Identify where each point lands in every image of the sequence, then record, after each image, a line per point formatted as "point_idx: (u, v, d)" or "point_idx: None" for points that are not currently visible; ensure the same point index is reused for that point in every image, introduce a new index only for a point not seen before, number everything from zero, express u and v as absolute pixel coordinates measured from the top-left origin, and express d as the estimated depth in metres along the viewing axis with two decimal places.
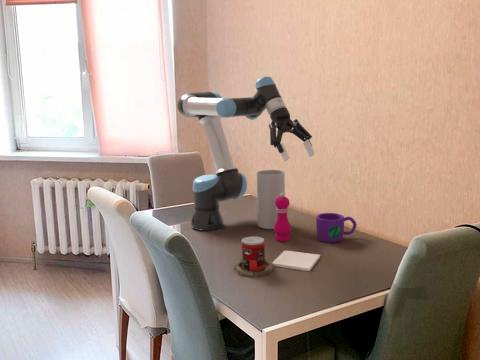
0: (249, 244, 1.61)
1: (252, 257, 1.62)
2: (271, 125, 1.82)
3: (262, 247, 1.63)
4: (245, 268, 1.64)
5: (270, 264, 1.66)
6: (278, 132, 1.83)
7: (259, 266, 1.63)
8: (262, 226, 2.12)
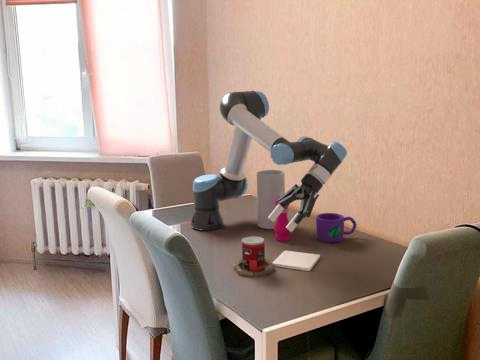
0: (249, 244, 1.61)
1: (252, 257, 1.62)
2: None
3: (262, 247, 1.63)
4: (245, 268, 1.64)
5: (270, 264, 1.66)
6: None
7: (259, 266, 1.63)
8: (262, 226, 2.12)
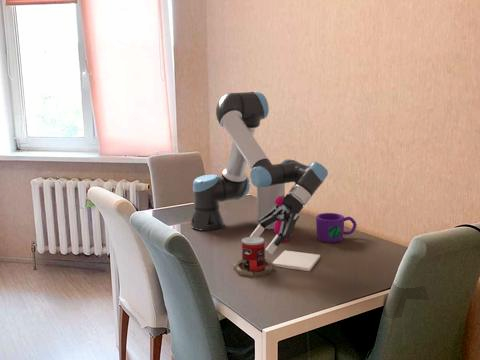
0: (249, 244, 1.61)
1: (252, 257, 1.62)
2: None
3: (262, 247, 1.63)
4: (245, 268, 1.64)
5: (270, 264, 1.66)
6: None
7: (259, 266, 1.63)
8: None
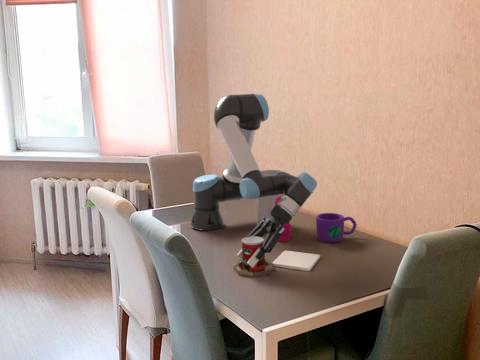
0: (249, 244, 1.61)
1: None
2: None
3: None
4: (245, 268, 1.64)
5: (270, 264, 1.66)
6: None
7: (259, 266, 1.63)
8: None
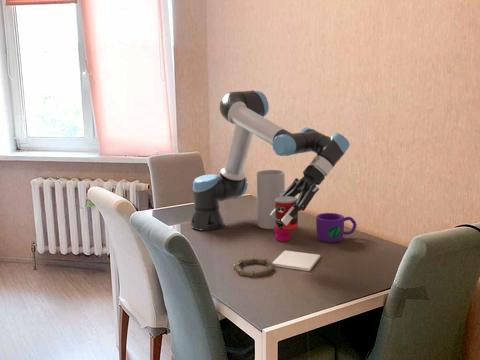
0: (283, 202, 1.63)
1: None
2: None
3: None
4: (278, 226, 1.66)
5: (270, 264, 1.66)
6: None
7: (293, 224, 1.65)
8: (262, 226, 2.12)
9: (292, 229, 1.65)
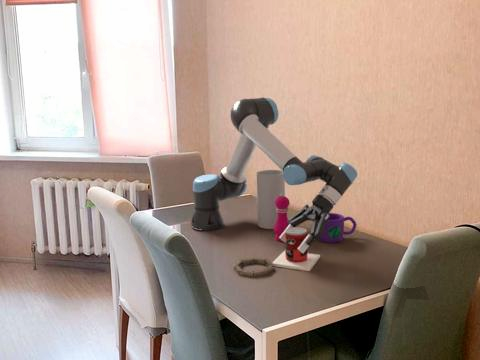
0: (293, 234, 1.67)
1: (296, 246, 1.68)
2: None
3: (305, 237, 1.68)
4: (289, 258, 1.70)
5: (270, 264, 1.66)
6: None
7: (303, 256, 1.69)
8: (262, 226, 2.12)
9: (302, 260, 1.69)
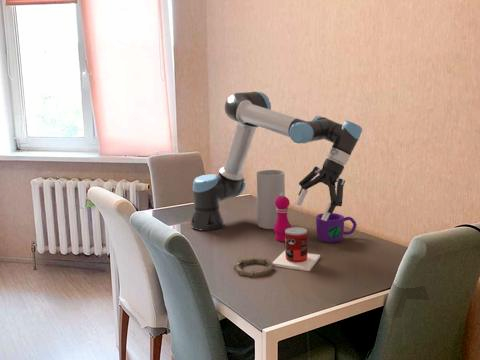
0: (293, 234, 1.67)
1: (296, 246, 1.68)
2: None
3: (305, 237, 1.68)
4: (289, 258, 1.70)
5: (270, 264, 1.66)
6: None
7: (303, 256, 1.69)
8: (262, 226, 2.12)
9: (302, 260, 1.69)
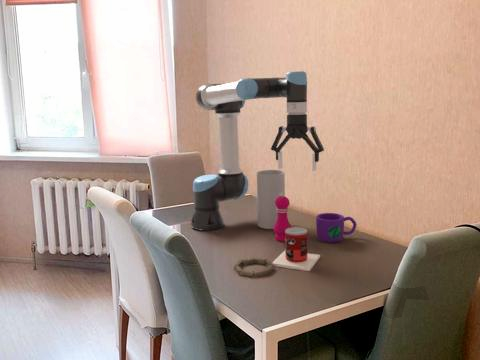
0: (293, 234, 1.67)
1: (296, 246, 1.68)
2: None
3: (305, 237, 1.68)
4: (289, 258, 1.70)
5: (270, 264, 1.66)
6: None
7: (303, 256, 1.69)
8: (262, 226, 2.12)
9: (302, 260, 1.69)
